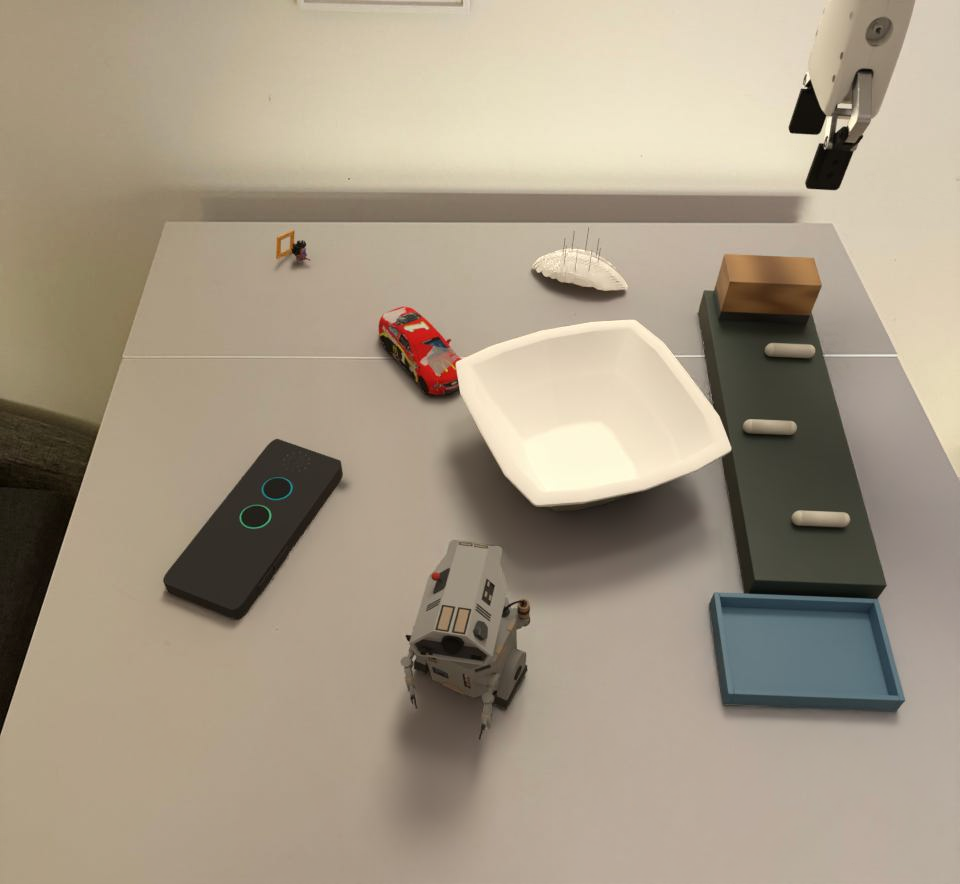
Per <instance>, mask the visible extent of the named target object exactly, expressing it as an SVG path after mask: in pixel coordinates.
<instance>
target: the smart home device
mask: <svg viewBox="0 0 960 884" xmlns="http://www.w3.org/2000/svg"><path fill="white" fill-rule="evenodd" d="M343 474H344V473H343V466H342V461H341V460H340V459H337V458H334V457H332V456H329V455H326V454H324V453H320V452H317V451H314V450H311V449H309V448H306V447H303V446H299V445H297V444H294V443H291V442H288V441H286V440H283V439H280V438H275V439H273V440H272V441H270V442H269V443H268V444H267V445H266V447H264V449H263V450H262V452H261V453H260V454H259V455H258V456H257V458H255V461H254V462H253V463H252V464H251V466H249V468H248V469H247V470H246V471H245V473H244V474H243V475H242V476H241V478H240V479H239V481H238V482H237V483H235V485H234V487H233V488H232V490H231V491H230V492H229V493H228V494H227V496H226V497H225V498H224V499H223V501H222V502H221V503H220V504H219V506H218V507H217V508H216V509H215V511H214V512H213V513H212V514H211V515H210V517H209V518H208V519H207V521H206V522H205V523H204V525H203V526H202V527H201V528H200V530H199V531H198V532H197V533H196V534H195V536H194V537H193V539H192V540H191V541H190V542H189V543H188V544H187V546H186V548H185V549H184V550H183V551H182V553H181V554H180V555H179V556H178V557H177V559H176V560H175V561H174V562H173V564H172V565H171V566H170V568H169V569H168V570H167V571H166V573H165V574H164V576H163V578H162V583H163V584H164V587H165V589H166V591H167V593H168V594H170V595H172V596H175V597H177V598H179V599H182V600H185V601H187V602H190V603H192V604H195V605H197V606H200V607H203V608H205V609H207V610H210V611H213V612H216V613H218V614H220V615H223V616H225V617H228V618H230V619H233V620H237V621H238V620H240V619H242V618H243V617H244V616H245V615H246V614H247V613H248V611H249V610H250V608H251V607H252V606H253V605H254V603H255V601H256V600H257V598H259V596H260V595H261V593H262V592H263V590H264V589H265V588H266V586H267V584H268V583H269V582H270V580H271V579H272V577H273V576H274V574H275V573H276V572H277V570H278V569H279V568H280V566H281V565H282V563H283V562H284V560H285V559H286V558H287V557H288V555H289V553H290V552H291V551H292V550H293V548H294V546H295V545H296V544H297V542H298V541H299V539H300V538H301V536H302V535H303V534H304V532H305V531H306V529H307V528H308V527H309V525H310V524H311V523H312V521H313V520H314V518H315V517H316V515H317V514H318V513H319V511H320V510H321V508H322V507H323V505H324V504H325V502H326V501H327V500H328V498H329V497H330V496H331V494H332V493H333V492H334V490H335V489H336V487H337V486H338V485H339V483H340V482H341V480H342V478H343Z"/></svg>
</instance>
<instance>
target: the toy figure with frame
mask: <svg viewBox="0 0 960 884" xmlns="http://www.w3.org/2000/svg"><path fill="white" fill-rule="evenodd" d="M295 233H296V232H295V229H292V230H290V231H287V232H285V233H283V234H281V235H278V236H276V250H275V251H276V252H275V253H276V254H275V259H276V260H279V259H281V258H283V257H285V256H287V255H289V254H292V255H294V257H295V259H296V261H297V262H298V263H304V261H305V260H307V261H311V259H310V258H307V256H308V253H307V248H306V247H307V242H306V241H305V240H303V239H299V240H297V241H296V242H295ZM287 238H289V248H288V249H286V250H283V251H282V252H281V250H282V249H281V248H282V241H283V240H286V239H287Z"/></svg>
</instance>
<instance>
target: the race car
mask: <svg viewBox="0 0 960 884" xmlns="http://www.w3.org/2000/svg"><path fill="white" fill-rule="evenodd" d="M378 336H379V340H380V342H381V343H382V345H383V347H384V349H385V351H386V352H387V353H388V354H391V355H392V356H393V358H394V359H395V360H396V361H397V362H398V364H400V365H401V367H402V368H403V369H404V370H405V371H406V372H407V373H408V374H409V375H410V377H412V379H413V380H414V381H415V382H416V383H417V384H418V383H419V387H420V389H421V390H422V392H423V393H425V394H429V395H447V394H452V393H454V392H456V391H458V390H460V388H459V382H458V376H457V370H456V362H457V361H459V360H461V359H462V358H461V357H460V356H459V355H458V354H457V352H456V351H455V350H454V349H453V348H452V346H451V345H450V343H451V342H452V339H451V338H448V339H445V338H444V336H443V335H442V334H441V333H440V332H439V331H438V330H437V329H436V328H435V327H434V326H433V325H432V324H431V323H430V322H429V321H428V320H427V319H426V317H424V316H423V315H422V314H421V313H419V312H418V311H417V310H416V309H414V308H412V307H409V306H400V307H397V308H394V309H391V310H389V311H387V312H385V313H383V314H382V315H381V316H380V319H379V321H378Z"/></svg>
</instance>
